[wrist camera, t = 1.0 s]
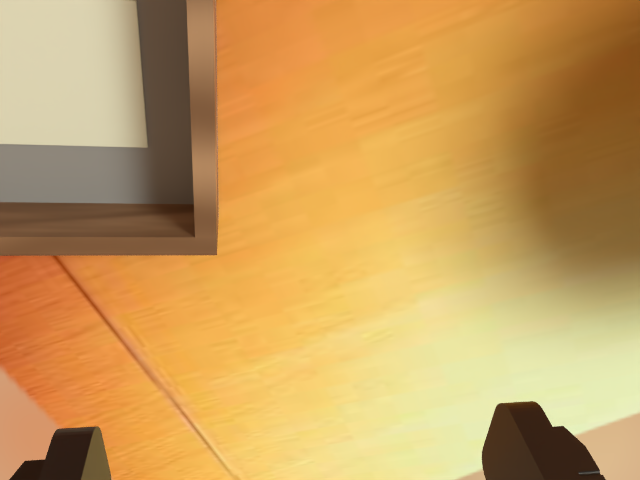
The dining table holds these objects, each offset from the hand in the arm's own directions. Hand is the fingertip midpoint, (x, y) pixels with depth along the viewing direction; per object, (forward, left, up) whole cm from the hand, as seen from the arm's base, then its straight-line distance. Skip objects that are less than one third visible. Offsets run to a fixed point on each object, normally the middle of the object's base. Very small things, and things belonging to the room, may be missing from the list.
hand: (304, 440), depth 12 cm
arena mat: (+1, -10, -25) cm, 27 cm away
